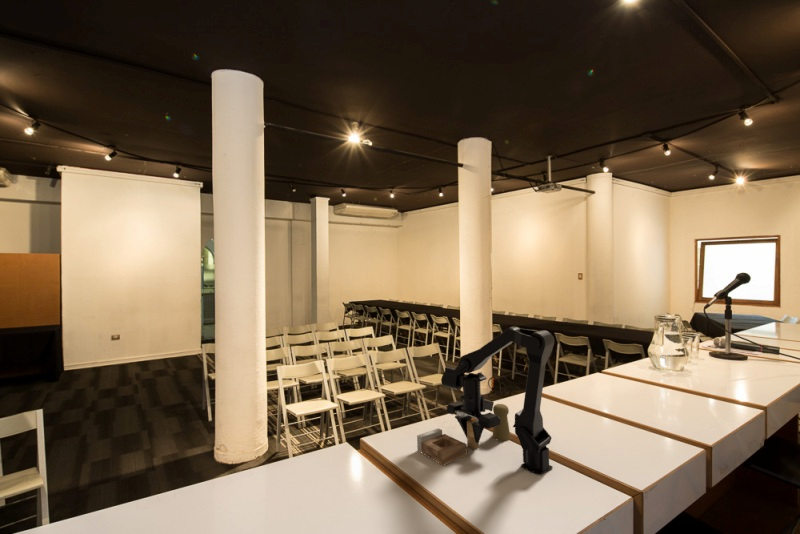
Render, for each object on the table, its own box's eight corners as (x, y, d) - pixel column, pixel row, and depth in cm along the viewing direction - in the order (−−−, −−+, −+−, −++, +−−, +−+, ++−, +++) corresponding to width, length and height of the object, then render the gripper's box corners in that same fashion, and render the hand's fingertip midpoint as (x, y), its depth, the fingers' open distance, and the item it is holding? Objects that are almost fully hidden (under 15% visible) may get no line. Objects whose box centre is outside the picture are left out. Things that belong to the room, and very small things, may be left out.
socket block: (466, 455, 122) (466, 444, 122) (442, 465, 116) (442, 453, 116) (444, 444, 130) (444, 433, 130) (421, 453, 124) (421, 442, 124)
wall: (442, 445, 129) (442, 430, 129) (421, 453, 124) (421, 437, 124) (438, 443, 131) (438, 428, 131) (417, 451, 125) (417, 435, 125)
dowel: (481, 447, 127) (480, 422, 127) (473, 450, 125) (472, 425, 125) (472, 443, 130) (472, 419, 130) (465, 446, 128) (464, 421, 128)
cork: (506, 442, 130) (505, 409, 130) (489, 438, 134) (488, 405, 134) (513, 436, 135) (512, 404, 135) (496, 432, 139) (496, 401, 139)
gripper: (510, 394, 125) (512, 443, 125) (468, 381, 140) (469, 425, 140) (487, 401, 118) (488, 453, 118) (445, 387, 133) (446, 433, 133)
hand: (472, 440), depth 128 cm, fingers closed on dowel, 4 cm apart
